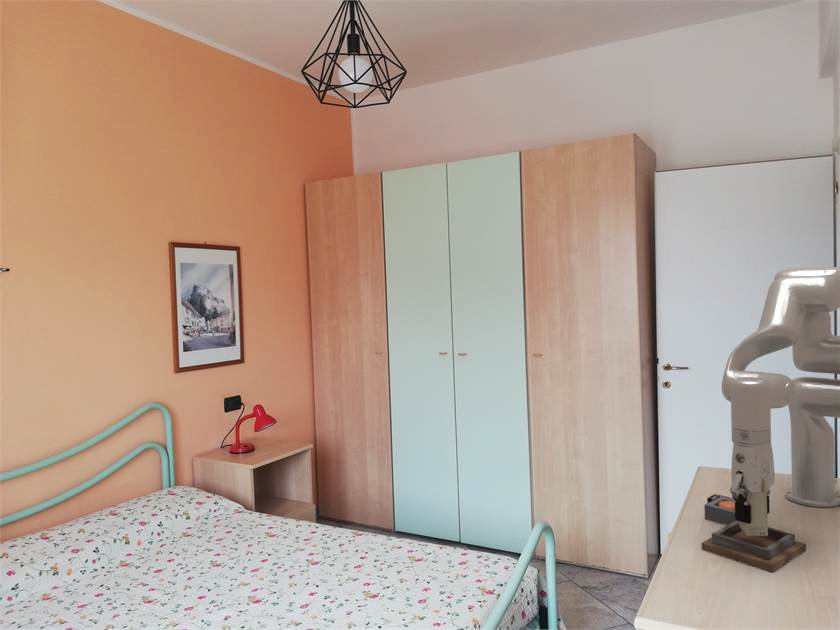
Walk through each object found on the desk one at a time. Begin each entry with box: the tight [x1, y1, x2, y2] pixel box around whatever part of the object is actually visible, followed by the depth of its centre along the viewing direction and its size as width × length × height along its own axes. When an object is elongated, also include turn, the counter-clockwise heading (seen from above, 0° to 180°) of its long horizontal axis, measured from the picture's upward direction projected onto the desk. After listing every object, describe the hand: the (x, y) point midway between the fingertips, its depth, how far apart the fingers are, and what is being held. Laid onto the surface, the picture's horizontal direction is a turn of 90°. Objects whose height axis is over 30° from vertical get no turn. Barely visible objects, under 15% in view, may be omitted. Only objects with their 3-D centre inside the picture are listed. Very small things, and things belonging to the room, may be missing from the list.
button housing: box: [704, 497, 737, 526], centre depth 157 cm, size 8×8×4 cm
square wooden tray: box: [701, 521, 807, 574], centre depth 140 cm, size 15×15×4 cm
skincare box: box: [739, 479, 769, 536], centre depth 139 cm, size 6×4×12 cm
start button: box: [719, 501, 735, 510], centre depth 157 cm, size 4×4×2 cm
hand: (752, 516), depth 139 cm, fingers closed on skincare box, 7 cm apart
